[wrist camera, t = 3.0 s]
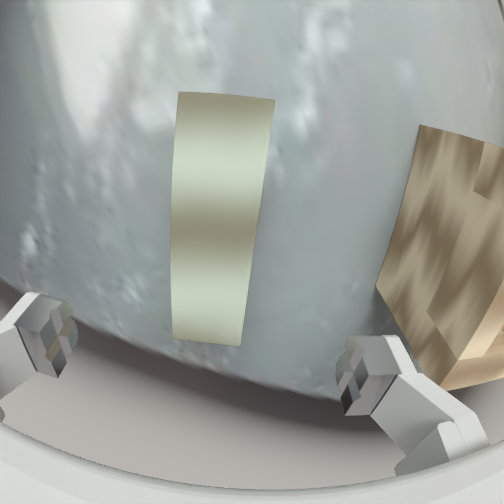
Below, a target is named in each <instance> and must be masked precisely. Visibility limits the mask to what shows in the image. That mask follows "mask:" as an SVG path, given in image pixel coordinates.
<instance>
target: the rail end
mask: <svg viewBox="0 0 504 504" xmlns="http://www.w3.org/2000/svg"><path fill="white" fill-rule="evenodd" d="M274 105H275V100H271V99H264V98H256V97H248V96H238V95H228V94H215V93H200V92H179V94H178V103H177V114H176V125H175V138H174V153H173V170H172V192H171V233H170V267H171V309H172V331H173V339H180V340H188V341H197V342H205V343H215V344H225V345H236V346H240V342H241V335H242V328H243V321H244V315H245V308H246V301H247V294H248V287H249V280H250V273H251V266H252V259H253V252H254V245H255V238H256V231H257V224H258V217H259V210H260V203H261V196H262V189H263V182H264V175H265V168H266V161H267V154H268V147H269V140H270V133H271V126H272V119H273V112H274Z"/></svg>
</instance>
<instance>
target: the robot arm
mask: <svg viewBox="0 0 504 504" xmlns="http://www.w3.org/2000/svg"><path fill="white" fill-rule="evenodd" d="M72 312H73V311H72V308H71V304H70V303H69V302H68V301H66V300H63V299H59V298H55V297H51V296H47V295H44V294H39V293H35V292H27V293H26V294H25V295H24V296H23V297H22V298H21V299H20V300H19V301H18V302H17V304H16V305H15V306H14V307H13V308H12V309H11V310H10V311H9V313H8V314H7V315H6V316H5V317H4V318H3V320H2V321H0V399H1V398H3V397H4V396H5V395H7V394H8V393H10V392H11V391H12V390H14V389H15V388H16V387H18V386H19V385H20V384H22V383H23V382H24V381H26V380H27V379H29V378H30V377H31V376H33V375H34V374H35V373H36V371H37V372H41V373H43V374H46V375H50V376H53V377H56V378H58V377H59V375H60V374H61V372H62V370H63V368H64V366H65V365H66V363H67V362H66V357H65V356H67V355H69V354H70V353H72V352H73V350H74V348H75V347H76V343H77V339H78V330H77V326H76V323H75V322H74V321H73V319H72V318H71V317H70V316H71V314H72ZM345 348H346V352H345V353H343V354H342V355H341V356H340V357H339V360H338V362H337V366H336V381H337V386H338V387H339V388H340V389H341V390H343V391H344V392H343V394H342V396H341V402H342V406H343V410H344V414H345V416H347V415H370V414H371V417H372V418H373V419H374V420H375V421H376V422H377V423H378V424H379V426H380V427H382V429H383V430H384V431H385V432H386V433H387V434H388V436H389V437H390V438H391V439H392V440H393V441H394V442H395V443H396V444H397V445H398V446H399V448H400V449H401V450H402V451H403V452H404V453H405V454H406V455H407V456H406V457H405V458H404V459H403V460H402V461H401V462H399V463H398V464H397V466H396V467H395V468H394V469H395V473H396V476H395V477H391V478H386V479H381V480H375V481H370V482H364V483H357V484H350V485H343V486H334V487H323V488H310V489H289V490H255V489H234V488H221V487H210V486H201V485H193V484H186V483H180V482H174V481H168V480H163V479H158V478H153V477H147V476H143V475H139V474H135V473H131V472H127V471H123V470H119V469H116V468H112V467H109V466H105V465H102V464H99V463H96V462H92V461H89V460H86V459H83V458H81V457H78V456H75V455H72V454H70V453H67V452H64V451H62V450H59V449H56V448H54V447H52V446H50V445H47V444H45V443H42V442H40V441H38V440H36V439H34V438H31V437H29V436H27V435H25V434H23V433H21V432H19V431H17V430H15V429H13V428H11V427H9V426H7V425H6V424H4V423H2V421H3V419H4V417H5V414H4V411H3V410H2V409H1V407H0V504H504V440H503V441H500V442H498V443H496V444H494V445H491V446H490V443H489V442H488V439H487V437H486V435H485V432H484V430H483V428H482V426H481V424H480V422H479V420H478V418H477V416H476V414H475V413H474V412H473V411H472V410H470V409H469V408H468V407H466V406H465V405H464V404H462V403H461V402H460V401H458V400H457V399H456V398H454V397H453V396H452V395H450V394H449V393H448V392H446V391H445V390H444V389H442V388H441V387H440V386H438V385H437V384H436V383H434V382H433V381H432V380H430V379H429V378H427V377H426V376H425V375H423V374H422V373H417V371H416V369H415V367H414V365H413V363H412V361H411V359H410V357H409V355H408V353H407V351H406V349H405V347H404V346H403V344H402V342H401V340H400V338H399V337H398V336H397V335H381V336H379V335H350V336H349V338H348V339H347V341H346V343H345Z"/></svg>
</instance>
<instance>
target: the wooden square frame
mask: <svg viewBox="0 0 504 504" xmlns="http://www.w3.org/2000/svg"><path fill="white" fill-rule="evenodd" d="M375 286H376V287H377V289H378V291H379V293H380V294H381V296H382V298H383V299H384V301H385V303H386V304H387V306H388V308H389V310H390V311H391V313H392V315H393V317H394V318H395V320H396V322H397V324H398V325H399V327H400V329H401V331H402V333H403V335H404V336H405V338H406V340H407V342H408V344H409V346H410V348H411V349H412V351H413V353H414V355H415V357H416V359H417V361H418V363H419V365H420V367H421V369H422V371H423V373H424V375H425V376H426V377H427V378H429V379H430V380H432V381H433V382H434V383H436V384H437V385H438V386H440V387H441V388H442V389H444V390H445V391H448V390H453V389H458V388H463V387H467V386H472V385H476V384H480V383H484V382H488V381H492V380H496V379H500V378H503V377H504V148H501V147H498V146H495V145H492V144H489V143H486V142H483V141H479V140H476V139H473V138H470V137H466V136H463V135H459V134H455V133H452V132H448V131H444V130H440V129H436V128H432V127H428V126H423V125H420V128H419V133H418V139H417V143H416V148H415V153H414V157H413V162H412V166H411V170H410V174H409V178H408V182H407V186H406V190H405V194H404V198H403V201H402V205H401V208H400V212H399V215H398V219H397V222H396V226H395V229H394V232H393V235H392V238H391V242H390V245H389V248H388V251H387V254H386V257H385V260H384V262H383V265H382V268H381V271H380V274H379V277H378V279H377V282H376V285H375Z"/></svg>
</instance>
